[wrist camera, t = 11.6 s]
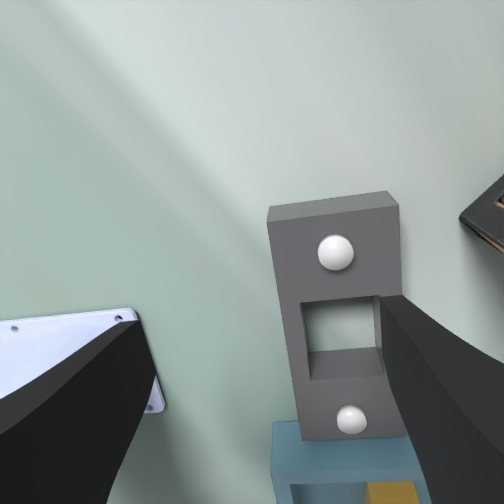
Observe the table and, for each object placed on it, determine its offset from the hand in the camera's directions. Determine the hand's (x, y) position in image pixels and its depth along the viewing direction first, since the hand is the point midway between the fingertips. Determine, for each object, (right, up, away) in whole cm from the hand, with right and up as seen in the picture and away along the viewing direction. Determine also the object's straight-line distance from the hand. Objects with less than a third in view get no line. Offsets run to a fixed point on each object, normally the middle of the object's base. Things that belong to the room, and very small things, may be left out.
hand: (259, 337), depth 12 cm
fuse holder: (+5, -1, +11) cm, 12 cm away
